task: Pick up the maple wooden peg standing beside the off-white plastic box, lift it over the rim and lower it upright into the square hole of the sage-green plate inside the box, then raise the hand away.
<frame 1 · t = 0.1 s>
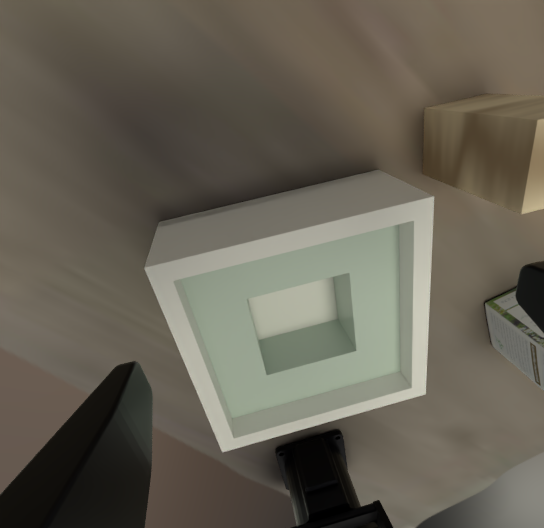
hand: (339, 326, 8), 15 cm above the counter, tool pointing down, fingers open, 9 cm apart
maple peg: (453, 135, 22), on the counter
syrup box: (514, 308, 30), on the counter
open box: (289, 288, 25), on the counter
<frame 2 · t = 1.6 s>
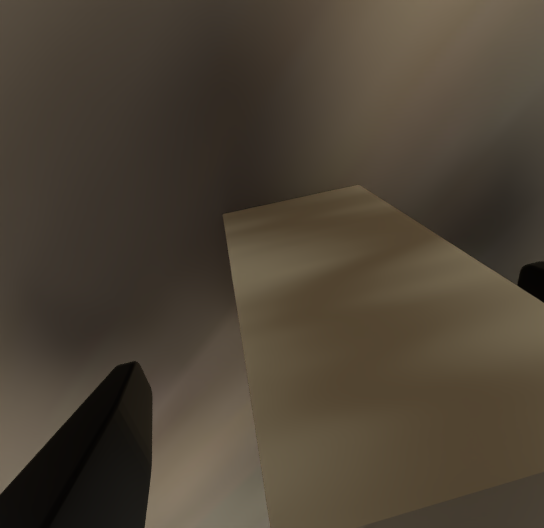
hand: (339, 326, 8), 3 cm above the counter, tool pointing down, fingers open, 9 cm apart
maple peg: (300, 260, 11), on the counter
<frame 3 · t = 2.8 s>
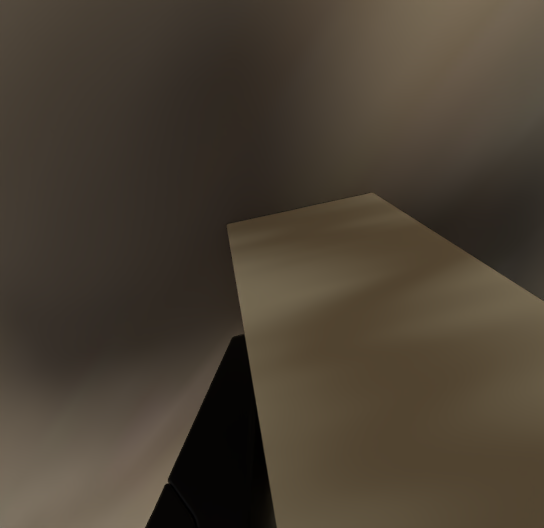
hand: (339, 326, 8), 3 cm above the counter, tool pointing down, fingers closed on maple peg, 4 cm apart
maple peg: (308, 272, 10), on the counter, touching gripper
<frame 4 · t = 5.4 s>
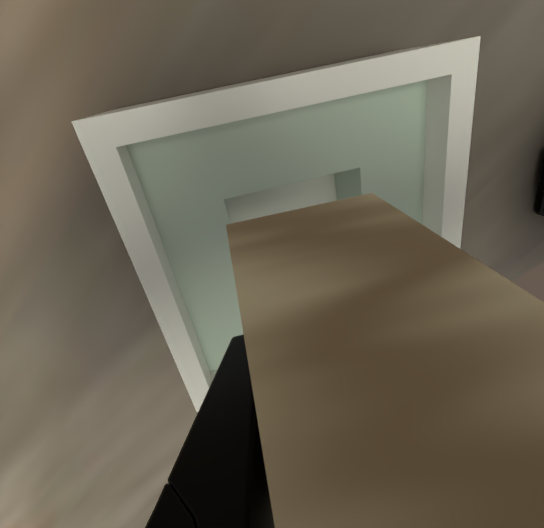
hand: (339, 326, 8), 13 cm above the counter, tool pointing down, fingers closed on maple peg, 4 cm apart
maple peg: (308, 272, 10), point 10 cm above the counter, touching gripper
open box: (282, 214, 20), on the counter
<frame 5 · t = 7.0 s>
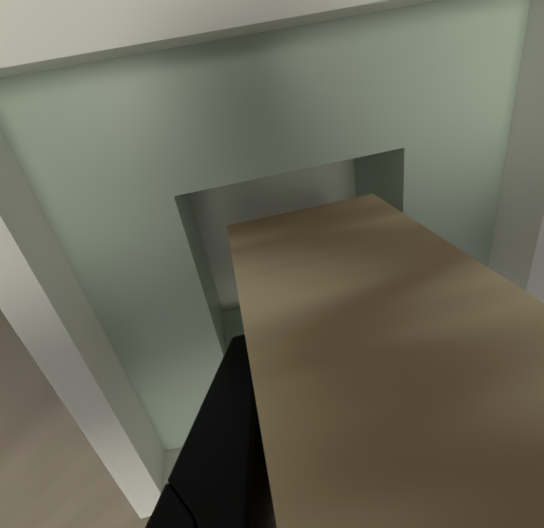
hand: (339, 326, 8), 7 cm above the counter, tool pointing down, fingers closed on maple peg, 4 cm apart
maple peg: (309, 273, 10), point 5 cm above the counter, touching gripper
open box: (276, 220, 14), on the counter
when the fingers open (5 cm above the counter, at t = 8.2 s): maple peg drops 2 cm, resting on open box.
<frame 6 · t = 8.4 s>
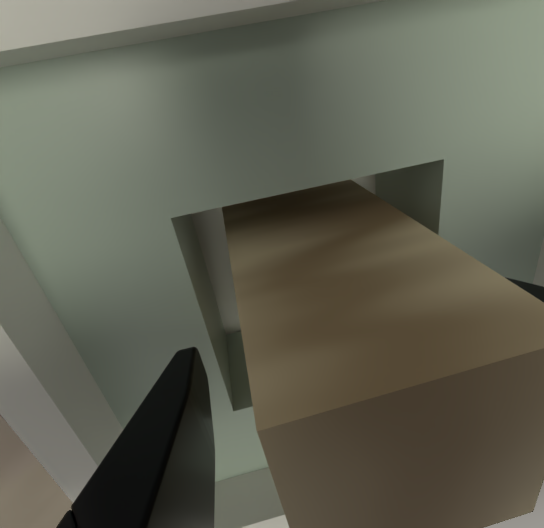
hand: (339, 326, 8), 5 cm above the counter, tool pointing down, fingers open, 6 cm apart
maple peg: (293, 246, 12), point 1 cm above the counter, touching open box
open box: (286, 235, 13), on the counter
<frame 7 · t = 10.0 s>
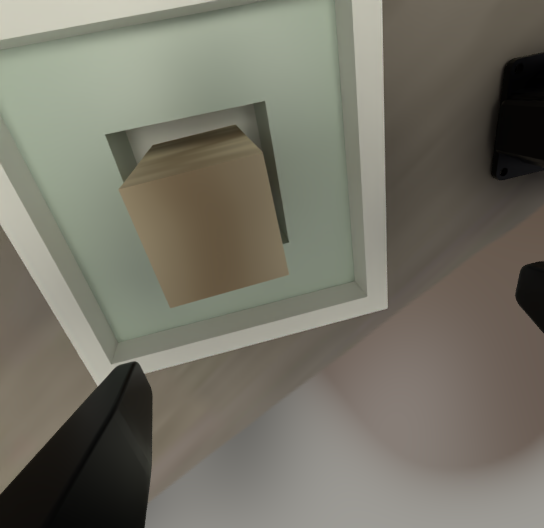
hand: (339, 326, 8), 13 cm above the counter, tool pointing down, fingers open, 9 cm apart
maple peg: (206, 175, 17), point 1 cm above the counter, touching open box
open box: (205, 171, 18), on the counter
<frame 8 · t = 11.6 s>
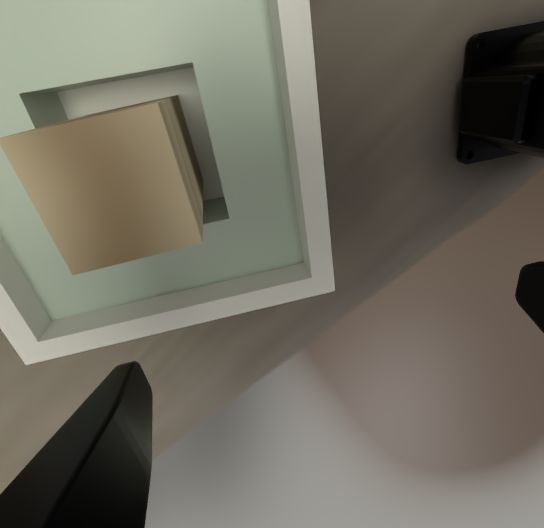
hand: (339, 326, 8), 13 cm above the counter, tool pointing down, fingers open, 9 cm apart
maple peg: (150, 149, 17), point 1 cm above the counter, touching open box
open box: (152, 146, 17), on the counter
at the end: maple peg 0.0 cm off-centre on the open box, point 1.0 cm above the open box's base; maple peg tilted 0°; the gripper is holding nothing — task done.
